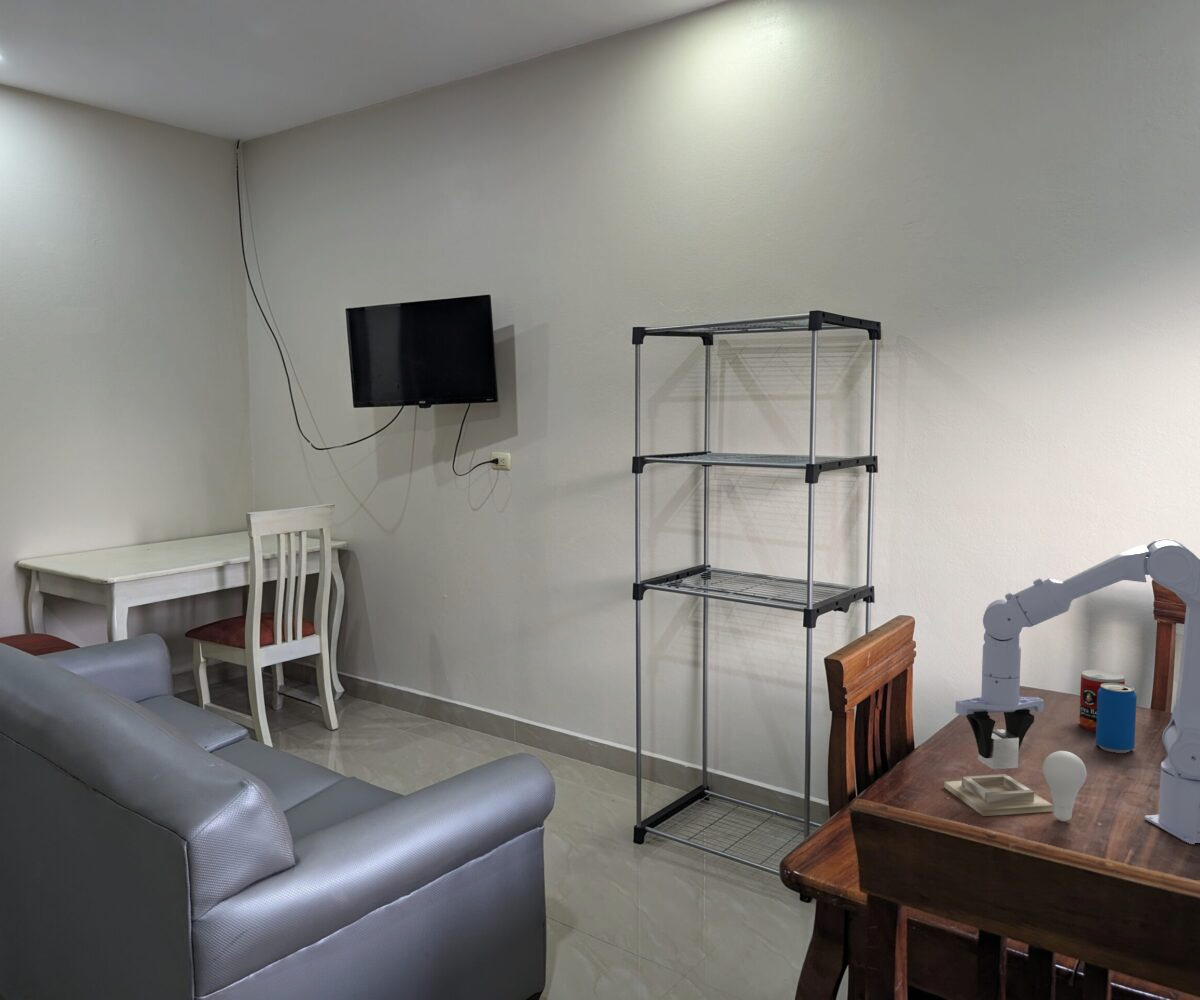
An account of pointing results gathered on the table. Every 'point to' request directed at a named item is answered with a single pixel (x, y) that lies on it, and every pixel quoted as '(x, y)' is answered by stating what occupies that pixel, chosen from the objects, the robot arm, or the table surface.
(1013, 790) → the beige square tray
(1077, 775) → the lightbulb
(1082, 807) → the table surface
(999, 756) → the block
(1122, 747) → the beverage can
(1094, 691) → the canned food
